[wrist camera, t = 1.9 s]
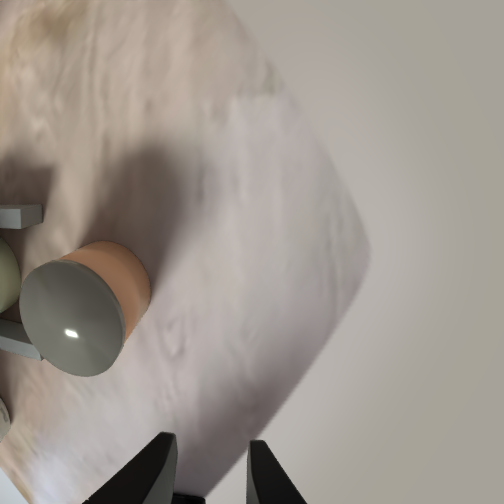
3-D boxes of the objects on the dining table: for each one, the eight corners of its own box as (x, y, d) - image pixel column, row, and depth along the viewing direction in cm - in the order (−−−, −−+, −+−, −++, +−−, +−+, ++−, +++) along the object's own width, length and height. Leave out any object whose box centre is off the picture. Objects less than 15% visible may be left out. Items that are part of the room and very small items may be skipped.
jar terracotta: (154, 334, 20) (127, 385, 14) (73, 323, 20) (32, 364, 14) (151, 242, 19) (114, 269, 13) (65, 236, 19) (12, 258, 13)
